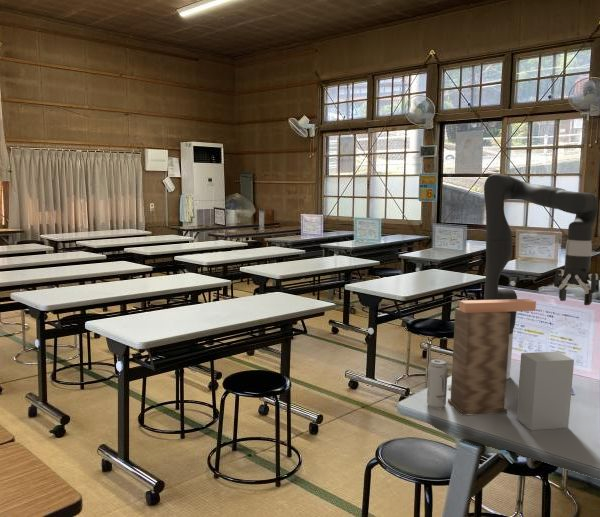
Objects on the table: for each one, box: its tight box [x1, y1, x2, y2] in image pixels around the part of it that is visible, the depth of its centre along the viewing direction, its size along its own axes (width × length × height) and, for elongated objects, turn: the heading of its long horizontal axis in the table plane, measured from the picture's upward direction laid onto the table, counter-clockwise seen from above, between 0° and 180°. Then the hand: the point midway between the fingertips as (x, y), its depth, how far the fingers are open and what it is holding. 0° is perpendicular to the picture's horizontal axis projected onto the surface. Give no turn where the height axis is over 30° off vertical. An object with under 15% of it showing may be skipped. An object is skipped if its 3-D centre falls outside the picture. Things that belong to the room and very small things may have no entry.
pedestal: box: [447, 307, 511, 416], centre depth 177 cm, size 15×10×32 cm
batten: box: [458, 298, 537, 313], centre depth 175 cm, size 24×4×3 cm, turn 100°
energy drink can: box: [426, 358, 449, 410], centre depth 179 cm, size 6×6×15 cm
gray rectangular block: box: [516, 351, 575, 431], centre depth 167 cm, size 12×8×21 cm, turn 100°
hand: (574, 302), depth 183 cm, fingers open, 8 cm apart
